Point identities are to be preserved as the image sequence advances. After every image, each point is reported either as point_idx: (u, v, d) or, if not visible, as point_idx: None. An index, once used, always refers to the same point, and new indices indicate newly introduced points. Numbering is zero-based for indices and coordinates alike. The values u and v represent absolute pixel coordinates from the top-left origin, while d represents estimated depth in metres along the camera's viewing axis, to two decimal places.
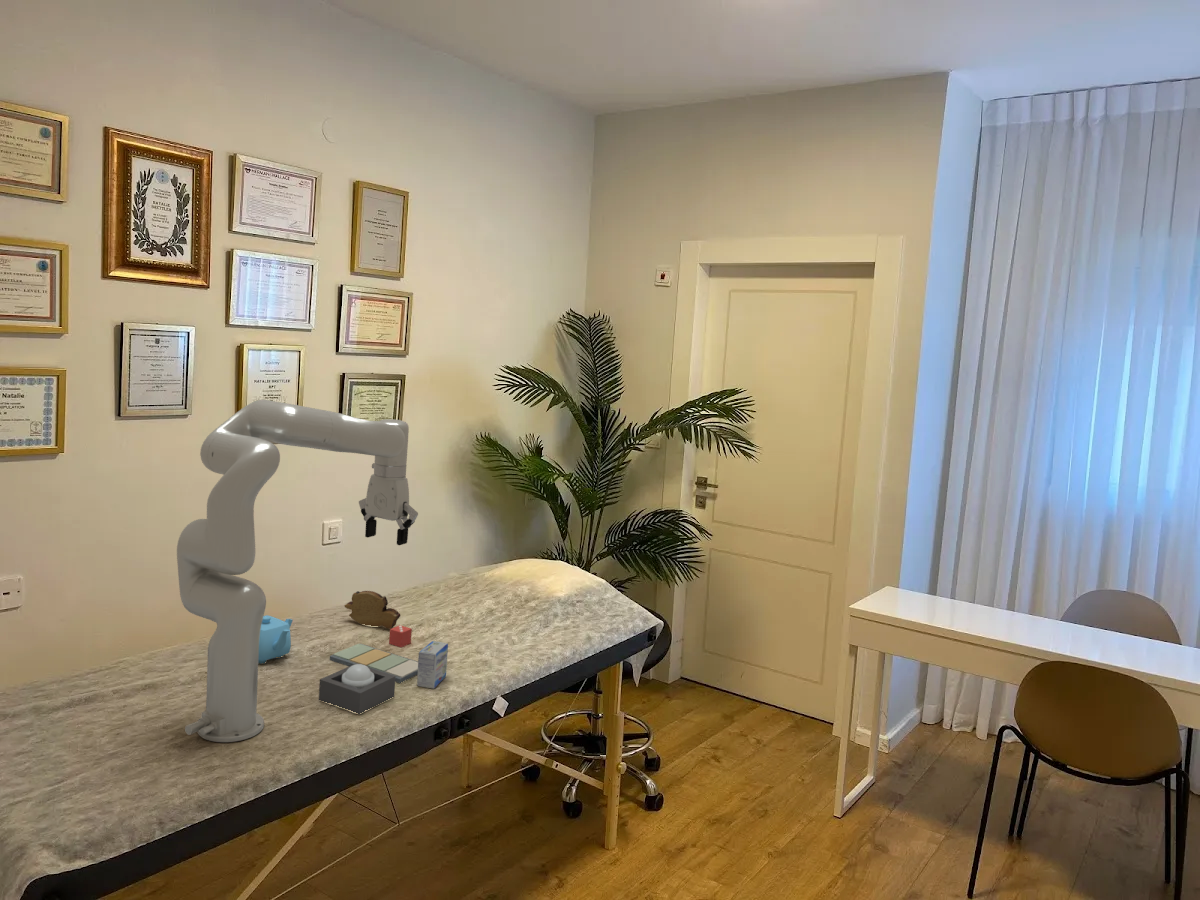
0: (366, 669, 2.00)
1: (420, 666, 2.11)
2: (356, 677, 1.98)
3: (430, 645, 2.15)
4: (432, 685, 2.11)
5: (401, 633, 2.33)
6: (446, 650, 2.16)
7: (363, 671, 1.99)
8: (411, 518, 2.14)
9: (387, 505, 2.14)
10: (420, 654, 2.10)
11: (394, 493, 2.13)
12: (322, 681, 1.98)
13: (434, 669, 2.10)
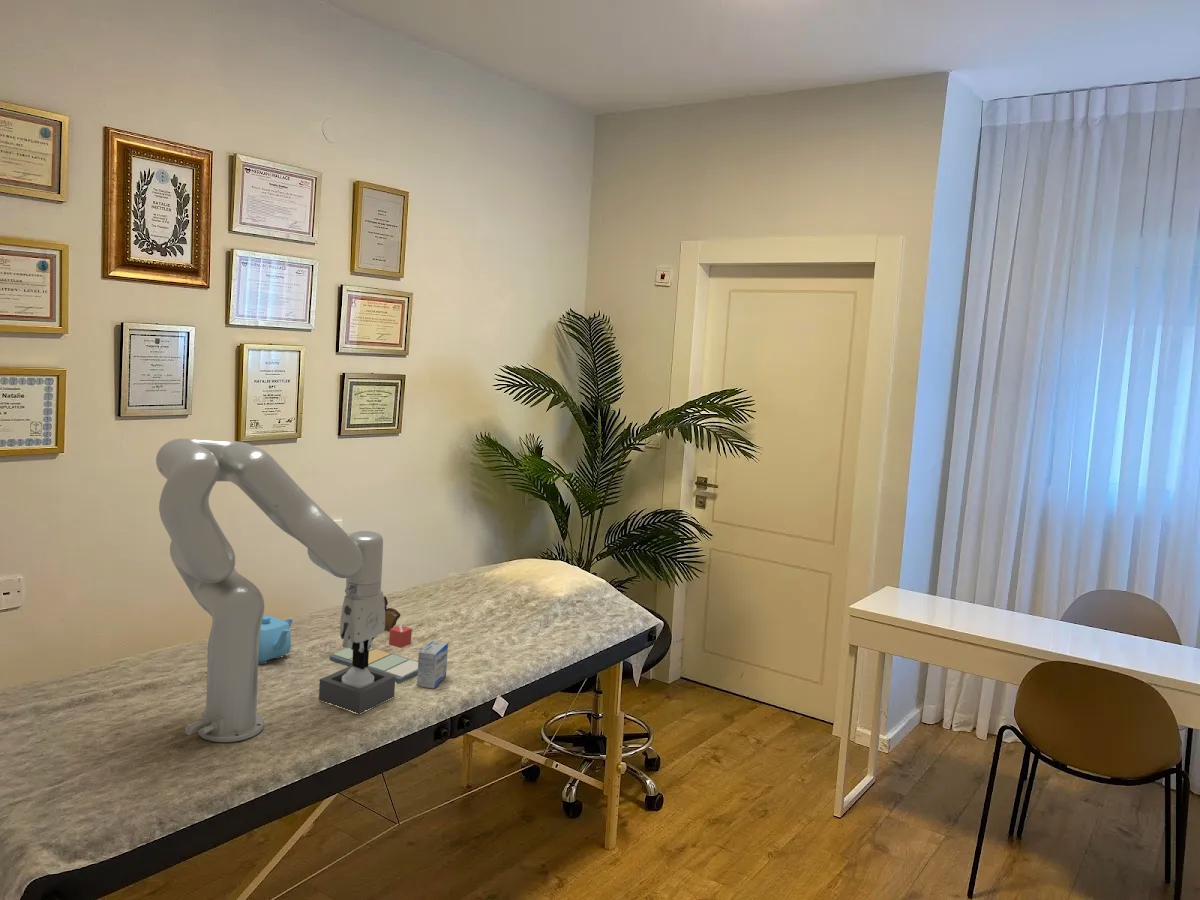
0: (366, 671, 2.01)
1: (420, 666, 2.11)
2: (356, 679, 1.98)
3: (430, 645, 2.15)
4: (432, 685, 2.11)
5: (401, 633, 2.33)
6: (446, 650, 2.16)
7: (363, 673, 2.00)
8: (374, 635, 2.03)
9: (378, 621, 2.00)
10: (420, 654, 2.10)
11: (383, 605, 2.01)
12: (322, 681, 1.98)
13: (434, 669, 2.10)
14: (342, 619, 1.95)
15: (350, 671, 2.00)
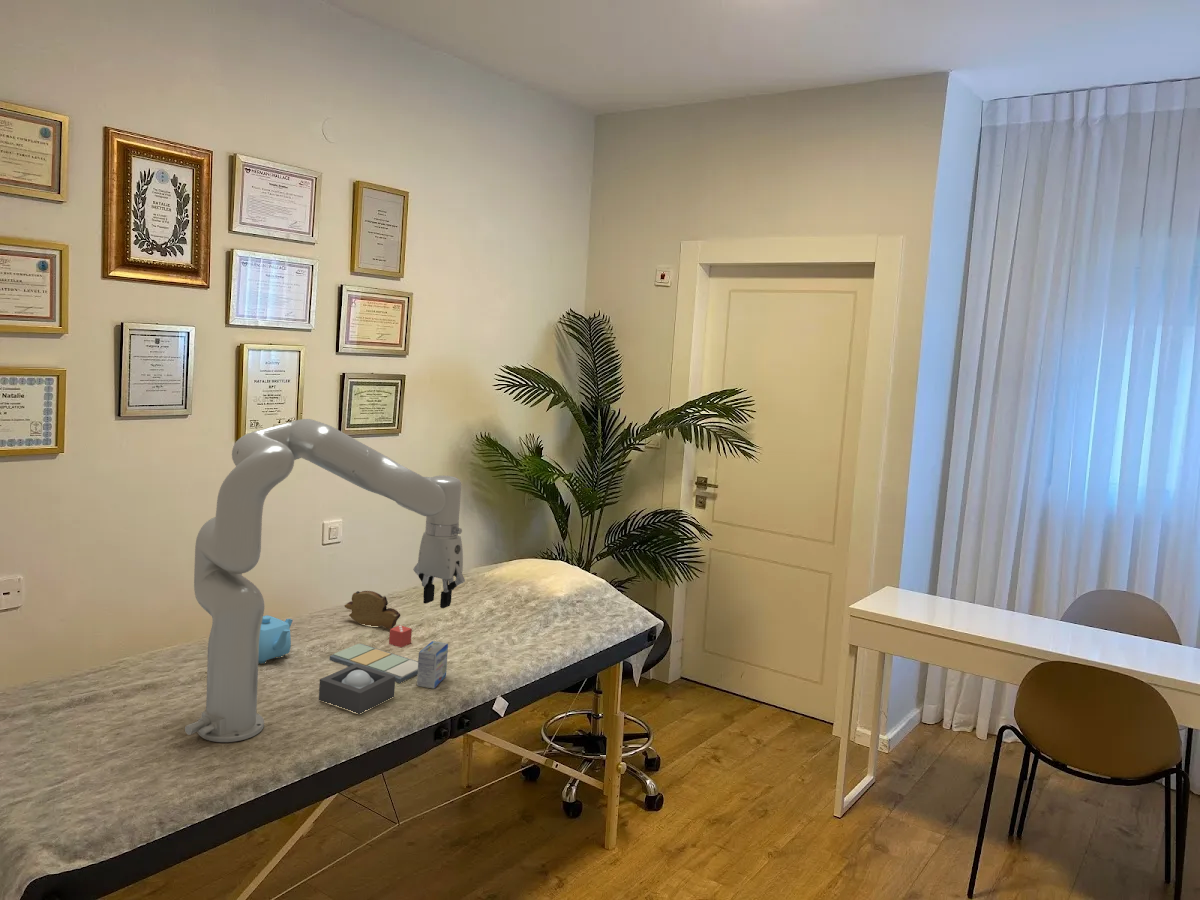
0: (366, 675, 2.01)
1: (420, 666, 2.11)
2: (356, 683, 1.99)
3: (430, 645, 2.15)
4: (432, 685, 2.11)
5: (401, 633, 2.33)
6: (446, 650, 2.16)
7: (363, 677, 2.00)
8: None
9: None
10: (420, 654, 2.10)
11: None
12: (322, 681, 1.98)
13: (434, 669, 2.10)
14: (454, 560, 2.07)
15: (350, 675, 2.00)
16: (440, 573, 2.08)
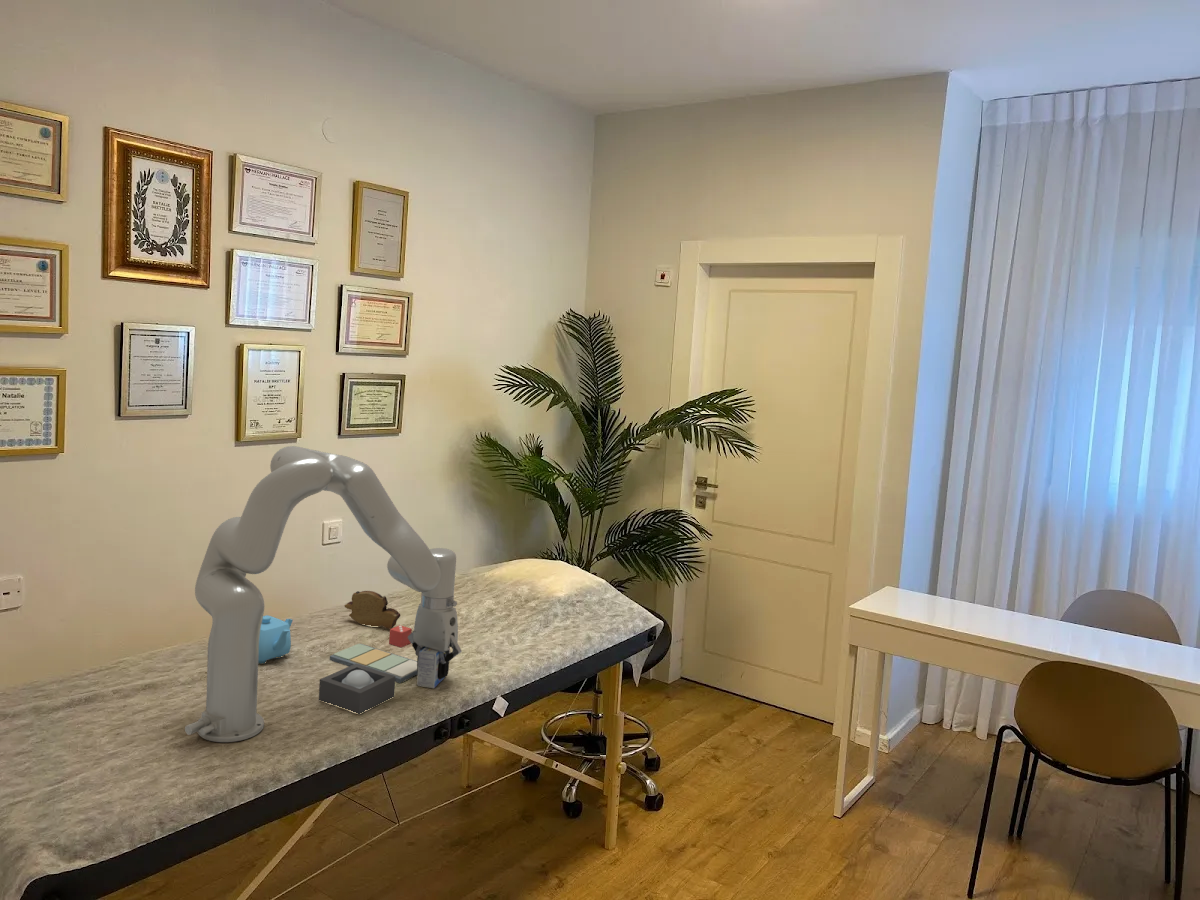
0: (366, 675, 2.01)
1: (420, 666, 2.11)
2: (356, 683, 1.99)
3: None
4: (432, 684, 2.11)
5: (401, 633, 2.33)
6: None
7: (363, 677, 2.00)
8: None
9: None
10: (420, 654, 2.10)
11: None
12: (322, 681, 1.98)
13: (434, 669, 2.10)
14: (449, 632, 2.10)
15: (350, 675, 2.00)
16: (435, 645, 2.11)
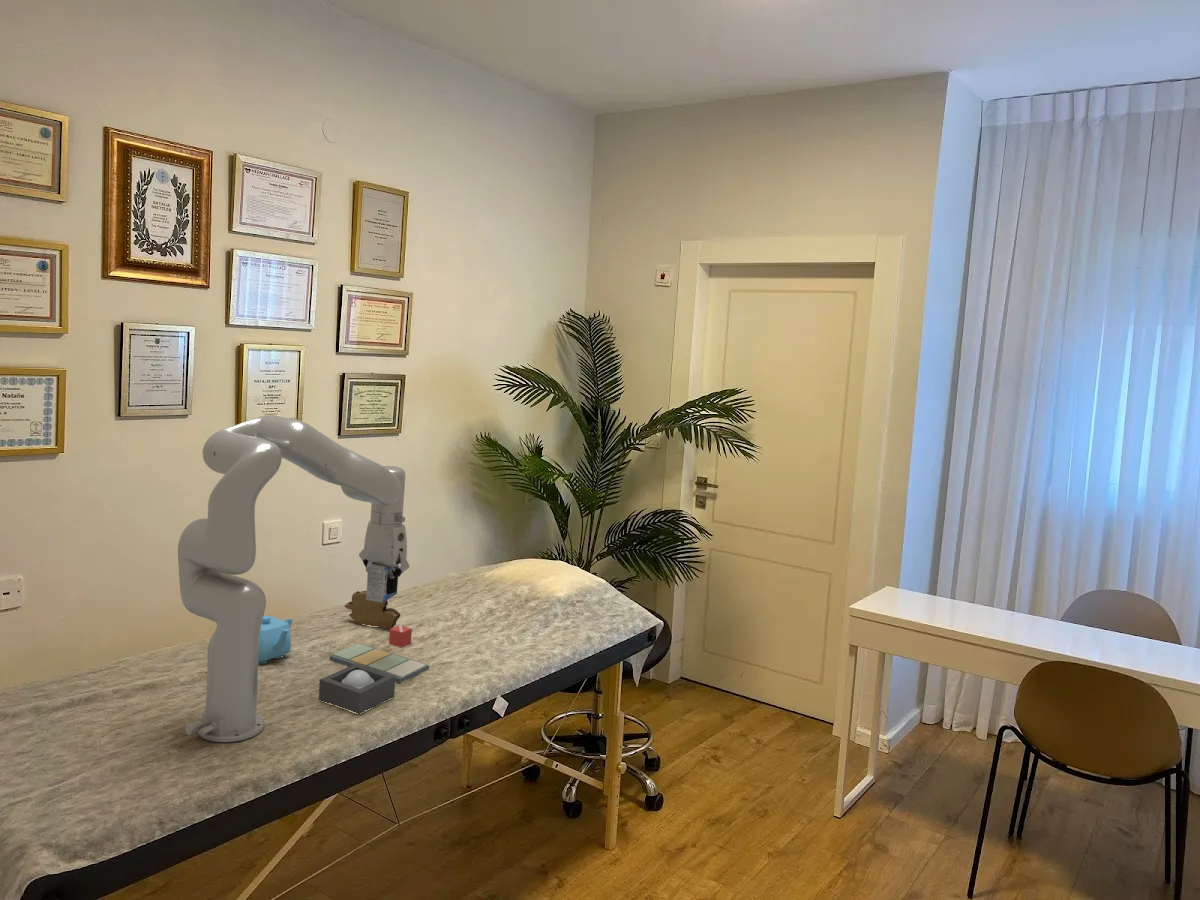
0: (366, 675, 2.01)
1: (369, 580, 2.15)
2: (356, 683, 1.99)
3: None
4: (380, 599, 2.15)
5: (401, 633, 2.33)
6: None
7: (363, 677, 2.00)
8: None
9: None
10: (369, 568, 2.15)
11: None
12: (322, 681, 1.98)
13: (382, 583, 2.14)
14: (397, 547, 2.14)
15: (350, 675, 2.00)
16: (384, 560, 2.15)
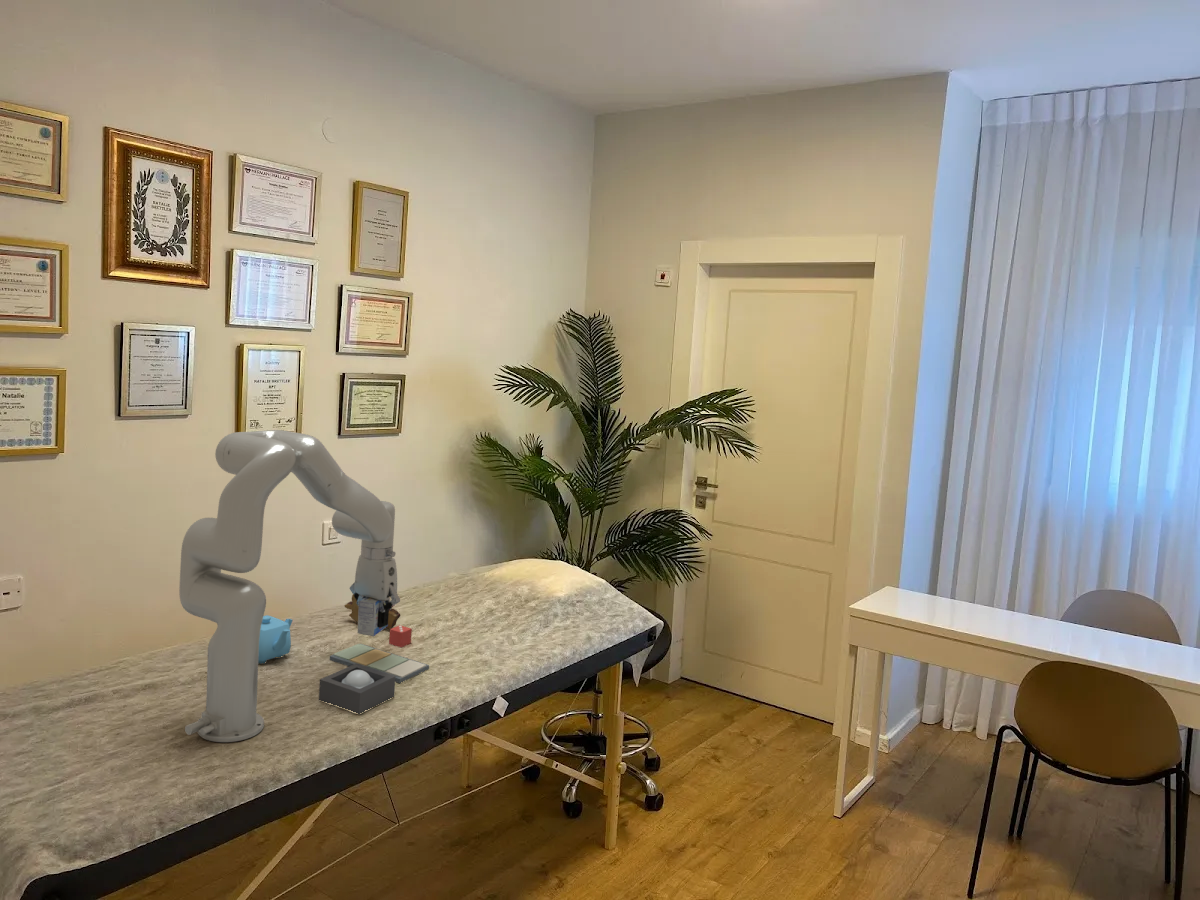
0: (366, 675, 2.01)
1: (360, 614, 2.18)
2: (356, 683, 1.99)
3: None
4: (371, 632, 2.18)
5: (401, 633, 2.33)
6: None
7: (363, 677, 2.00)
8: None
9: None
10: (360, 603, 2.17)
11: None
12: (322, 681, 1.98)
13: (374, 617, 2.17)
14: (387, 582, 2.17)
15: (350, 675, 2.00)
16: (374, 594, 2.18)
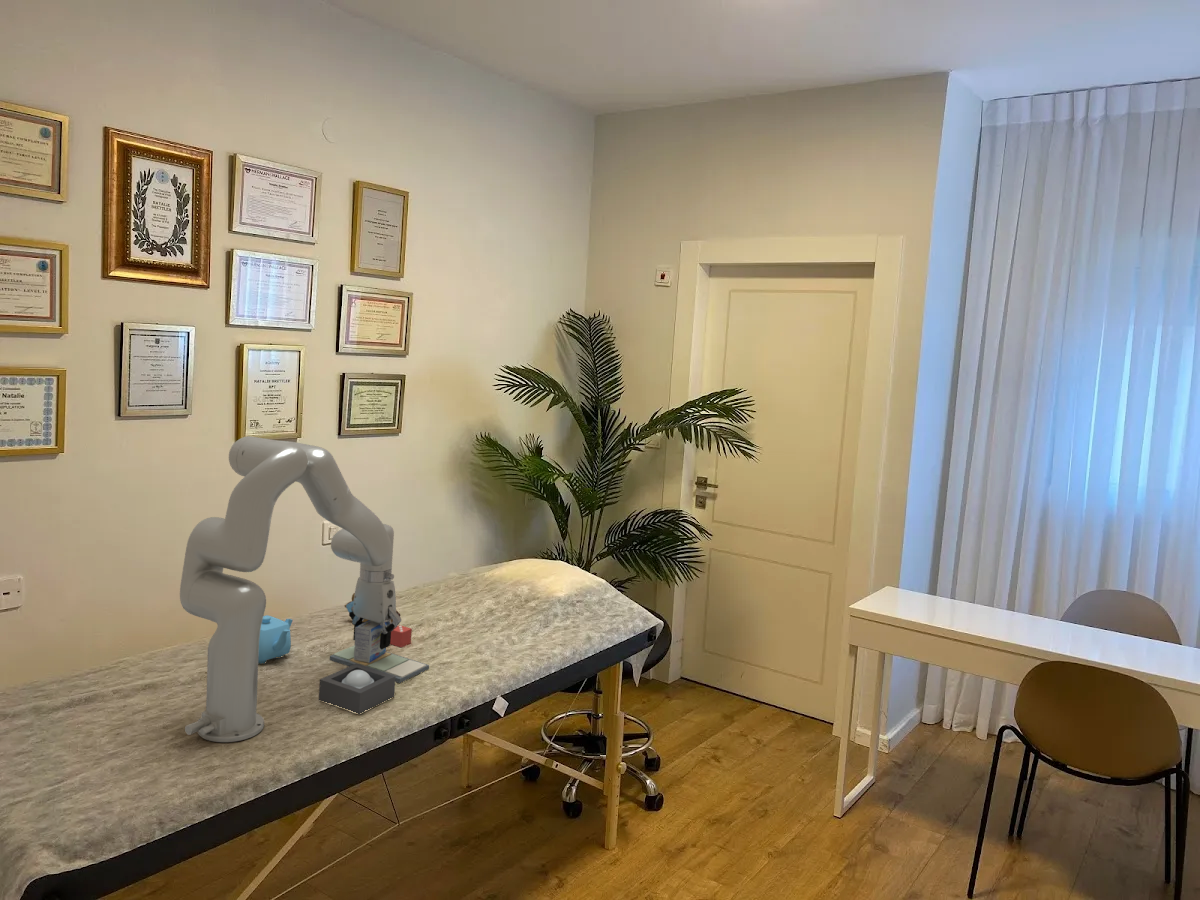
0: (366, 675, 2.01)
1: (356, 641, 2.19)
2: (356, 683, 1.99)
3: (369, 621, 2.23)
4: (367, 659, 2.18)
5: (401, 633, 2.33)
6: None
7: (363, 677, 2.00)
8: None
9: None
10: (356, 629, 2.18)
11: None
12: (322, 681, 1.98)
13: (369, 644, 2.18)
14: (386, 604, 2.17)
15: (350, 675, 2.00)
16: (373, 617, 2.18)
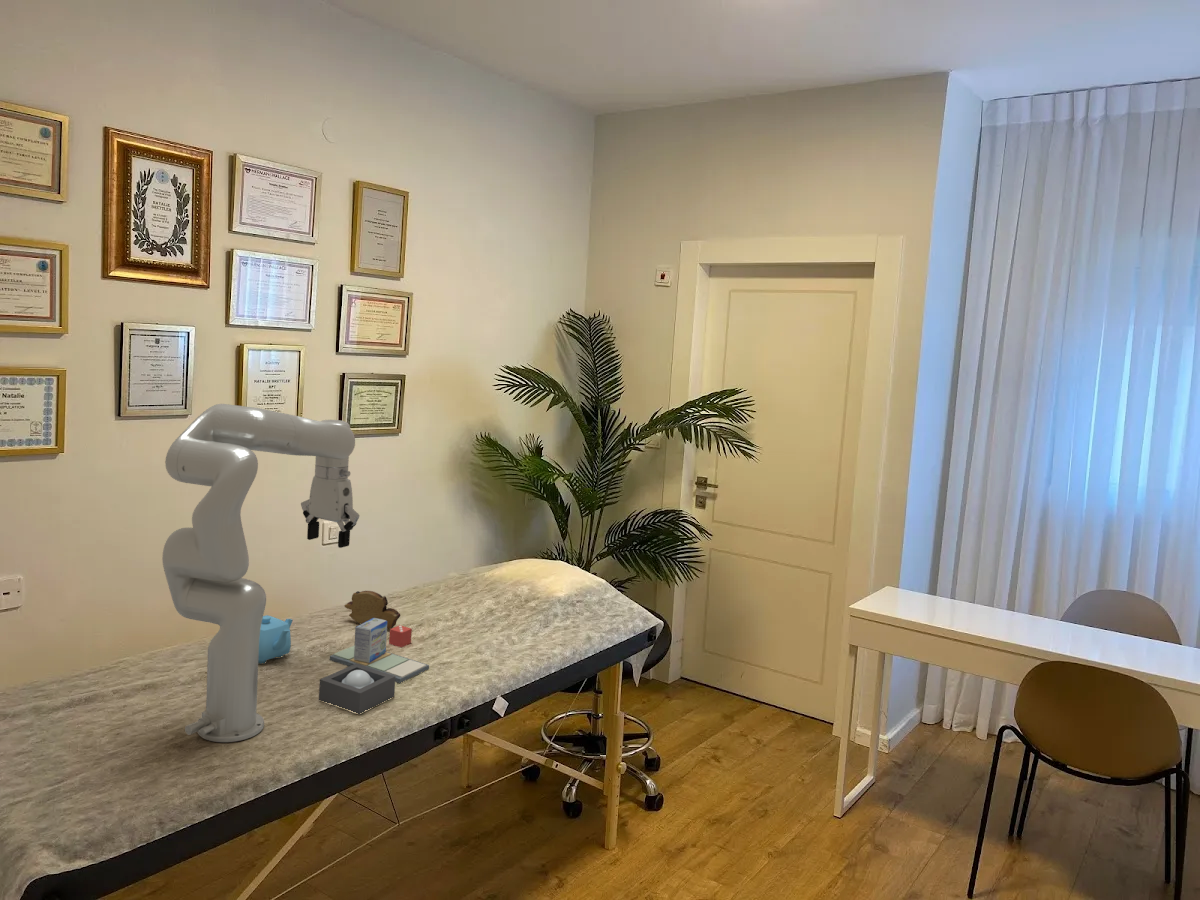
0: (366, 675, 2.01)
1: (356, 641, 2.19)
2: (356, 683, 1.99)
3: (369, 621, 2.23)
4: (367, 659, 2.18)
5: (401, 633, 2.33)
6: (385, 627, 2.24)
7: (363, 677, 2.00)
8: None
9: None
10: (356, 629, 2.18)
11: None
12: (322, 681, 1.98)
13: (369, 644, 2.18)
14: (342, 502, 2.10)
15: (350, 675, 2.00)
16: (329, 516, 2.11)
